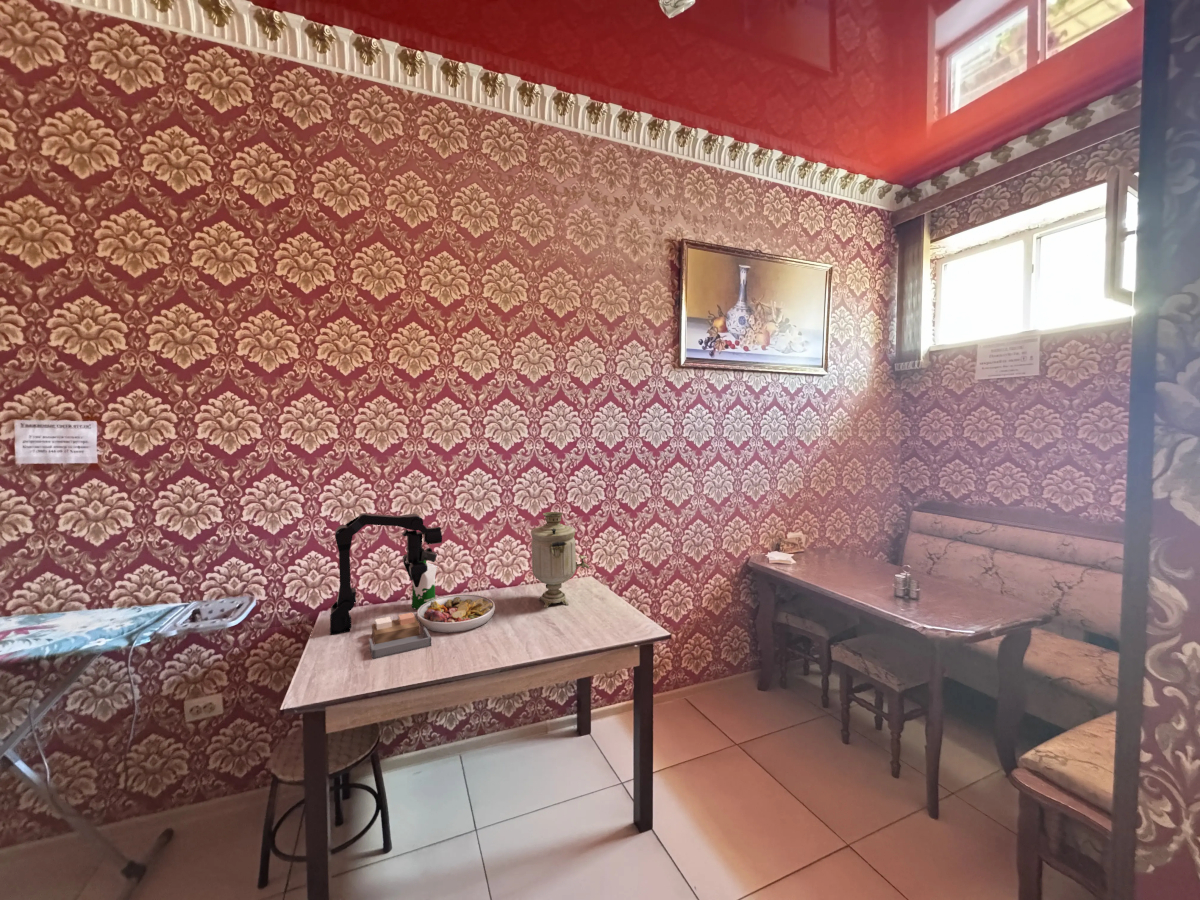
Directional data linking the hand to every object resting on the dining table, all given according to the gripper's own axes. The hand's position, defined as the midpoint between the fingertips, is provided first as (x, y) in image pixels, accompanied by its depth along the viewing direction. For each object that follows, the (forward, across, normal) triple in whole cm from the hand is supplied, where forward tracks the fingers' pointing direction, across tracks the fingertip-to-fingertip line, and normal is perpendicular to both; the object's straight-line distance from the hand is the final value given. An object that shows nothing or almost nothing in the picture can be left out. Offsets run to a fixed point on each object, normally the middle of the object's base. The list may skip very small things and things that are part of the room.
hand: (414, 583), depth 190 cm
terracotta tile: (+10, -13, +5) cm, 17 cm away
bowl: (+14, -10, -14) cm, 23 cm away
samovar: (+14, -16, -58) cm, 62 cm away
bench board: (+14, -14, +9) cm, 22 cm away
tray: (+14, -24, +9) cm, 29 cm away
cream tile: (+10, -12, +13) cm, 21 cm away
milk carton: (+14, +9, -6) cm, 17 cm away
